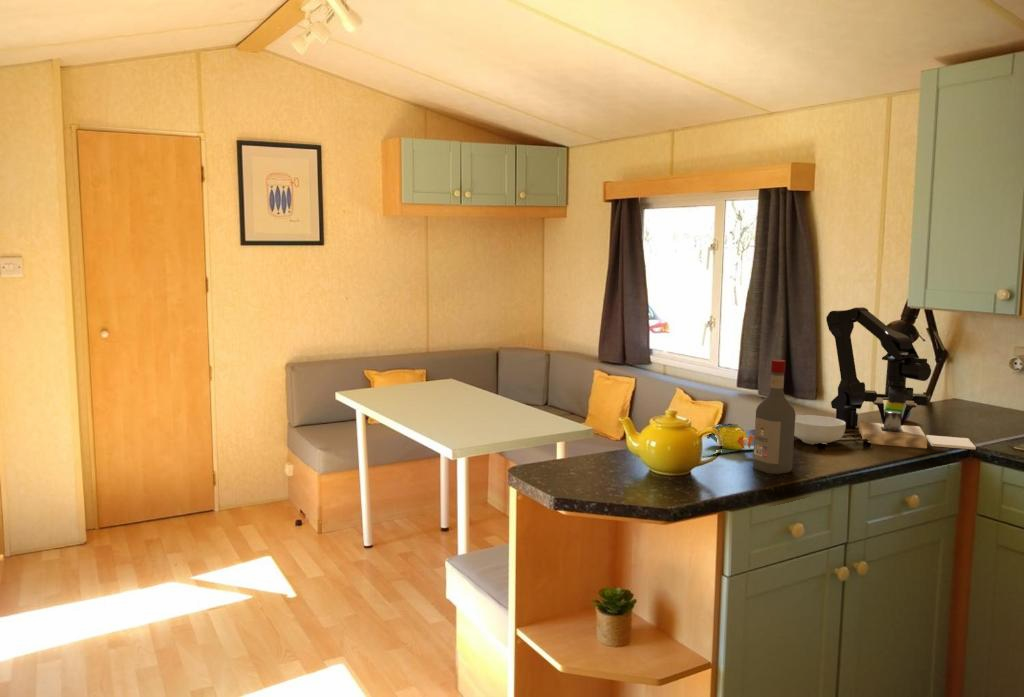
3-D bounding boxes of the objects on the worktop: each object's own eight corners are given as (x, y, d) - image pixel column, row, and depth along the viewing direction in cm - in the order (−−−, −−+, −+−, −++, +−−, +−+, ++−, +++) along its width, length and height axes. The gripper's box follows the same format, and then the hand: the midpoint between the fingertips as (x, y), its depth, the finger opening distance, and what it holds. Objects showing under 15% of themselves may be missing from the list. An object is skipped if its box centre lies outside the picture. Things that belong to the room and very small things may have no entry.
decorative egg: (915, 422, 296) (917, 394, 295) (894, 423, 294) (896, 394, 293) (899, 417, 304) (901, 389, 303) (879, 418, 302) (881, 390, 301)
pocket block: (862, 443, 265) (863, 433, 264) (858, 430, 282) (859, 421, 281) (926, 448, 259) (927, 438, 259) (918, 435, 276) (919, 426, 276)
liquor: (772, 475, 227) (779, 363, 223) (747, 467, 235) (753, 359, 231) (797, 471, 231) (803, 361, 227) (771, 463, 239) (778, 357, 235)
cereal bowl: (856, 444, 262) (857, 422, 262) (820, 451, 254) (821, 428, 253) (810, 433, 277) (812, 412, 276) (775, 439, 268) (776, 417, 267)
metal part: (883, 438, 269) (885, 413, 268) (882, 434, 274) (884, 410, 272) (901, 439, 267) (903, 414, 266) (899, 436, 272) (901, 411, 271)
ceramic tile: (931, 446, 262) (932, 443, 262) (926, 437, 274) (926, 434, 274) (975, 449, 259) (975, 447, 259) (967, 440, 270) (968, 438, 270)
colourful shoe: (708, 432, 240) (676, 422, 254) (707, 462, 241) (675, 451, 255) (785, 424, 252) (751, 415, 265) (784, 453, 253) (750, 442, 266)
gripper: (866, 377, 263) (862, 427, 265) (933, 382, 257) (928, 432, 259) (863, 372, 274) (860, 420, 276) (927, 376, 268) (923, 425, 270)
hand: (892, 424), depth 270 cm, fingers closed on metal part, 5 cm apart
